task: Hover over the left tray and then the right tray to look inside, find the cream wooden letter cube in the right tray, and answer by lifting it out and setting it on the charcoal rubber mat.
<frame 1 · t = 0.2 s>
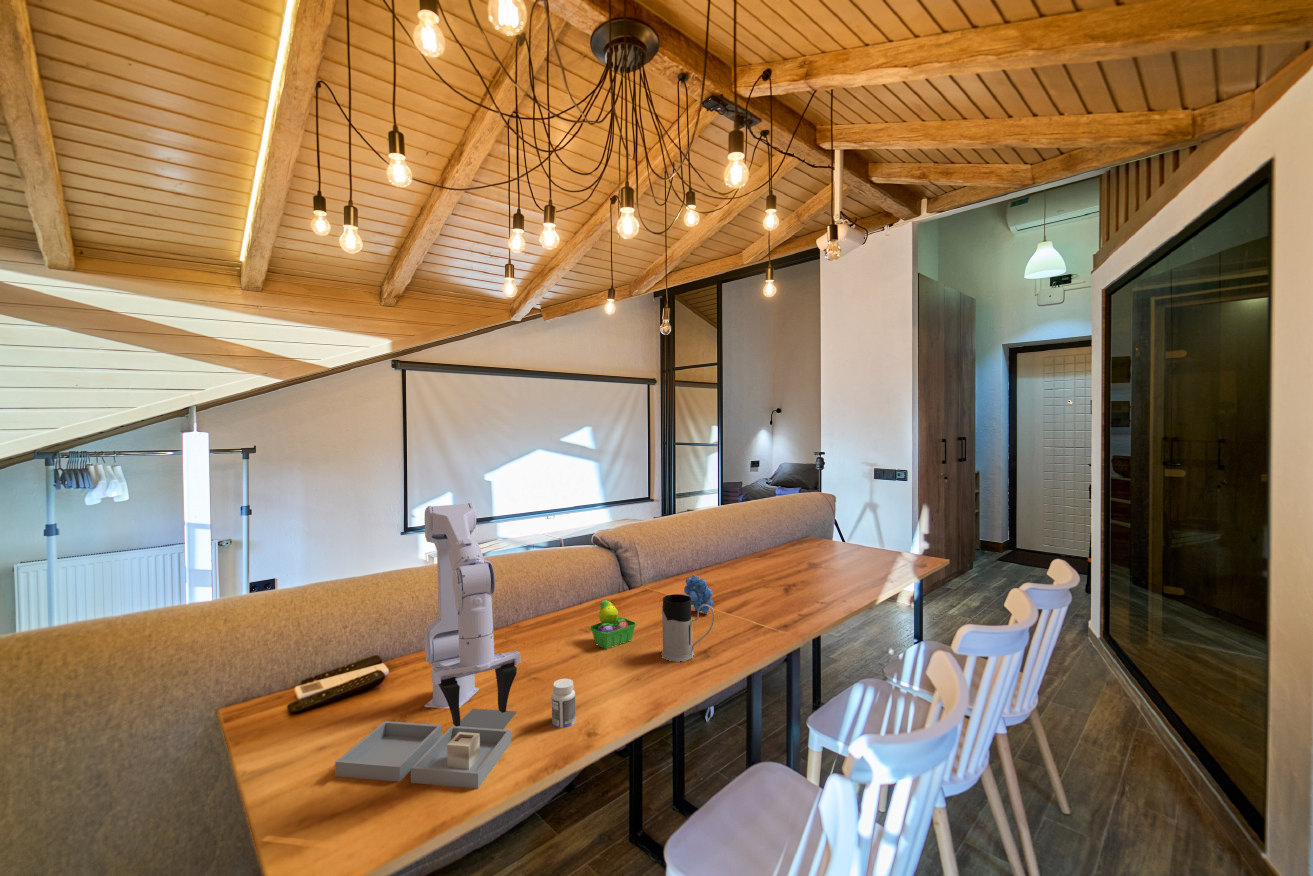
hand: (480, 717, 90), 10 cm above the table, tool pointing down, fingers open, 7 cm apart
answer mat: (483, 725, 107), on the table
grapes: (696, 613, 173), on the table
tray 1: (391, 758, 96), on the table
tray 2: (464, 764, 94), on the table
letter cube: (464, 761, 94), point 1 cm above the table, touching tray 2
pill bottle: (564, 725, 107), on the table
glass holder: (687, 656, 140), on the table
fruit basket: (612, 642, 150), on the table
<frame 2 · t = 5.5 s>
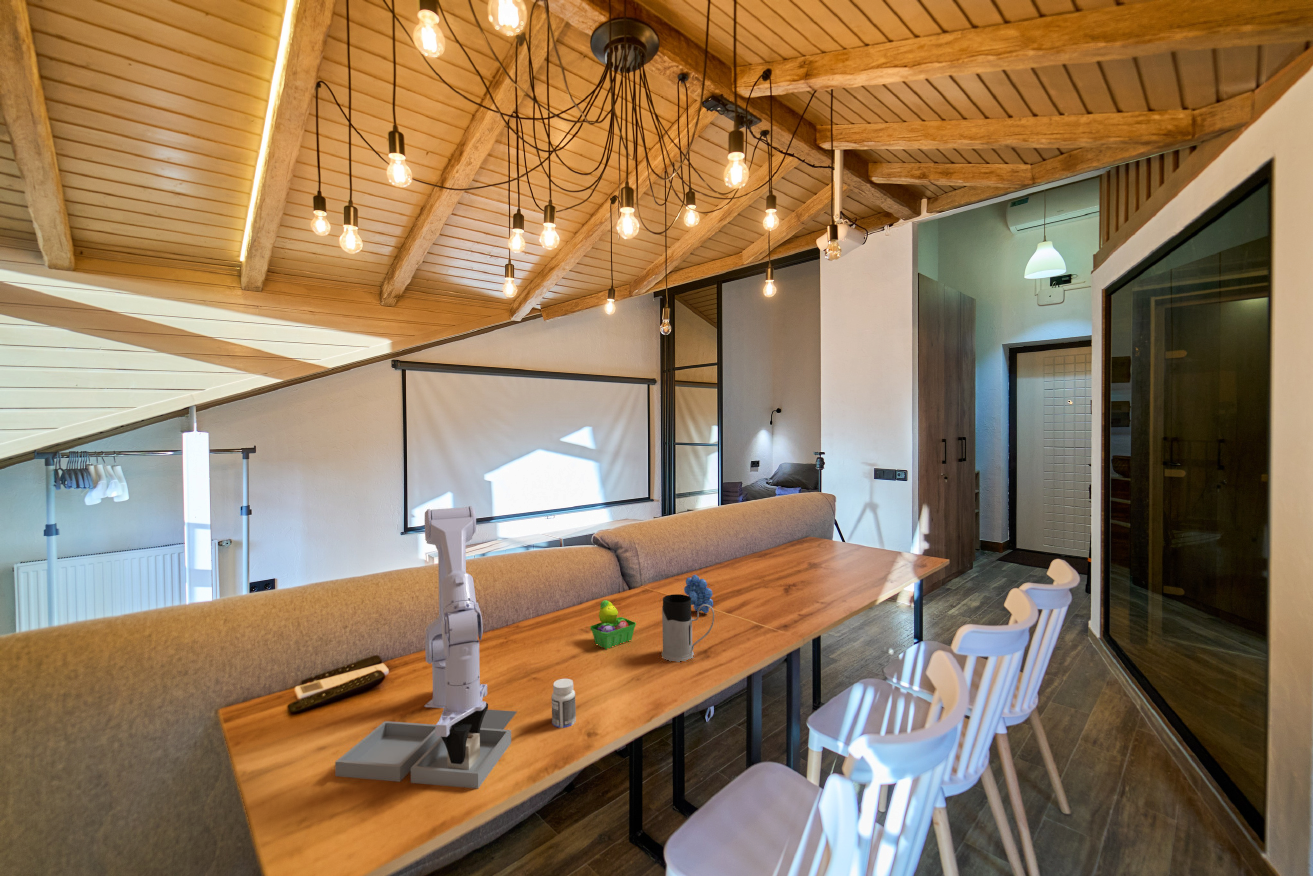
hand: (463, 754, 94), 2 cm above the table, tool pointing down, fingers closed on letter cube, 4 cm apart
letter cube: (464, 761, 94), point 1 cm above the table, touching gripper, tray 2
everything else where it was.
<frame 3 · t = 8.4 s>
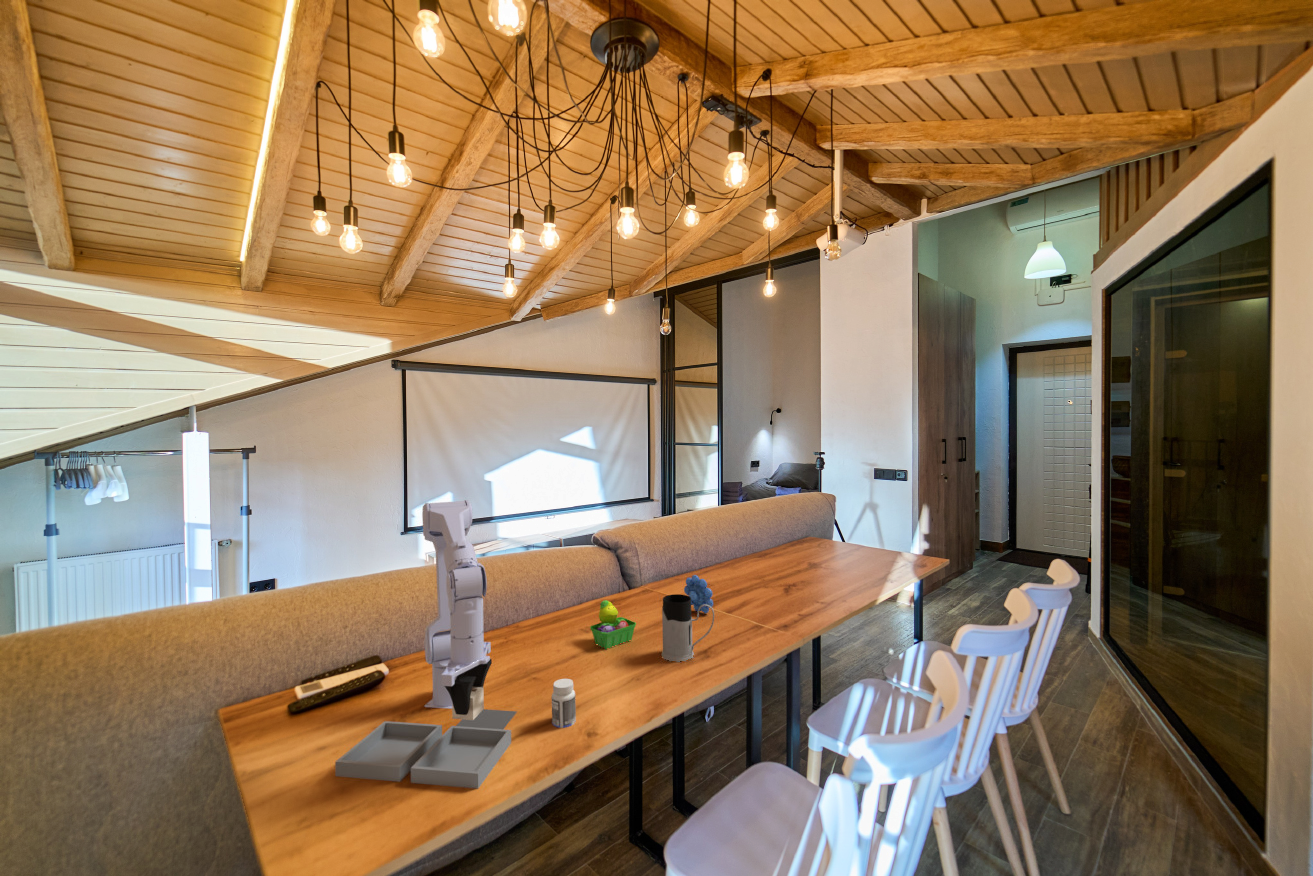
hand: (468, 707, 97), 9 cm above the table, tool pointing down, fingers closed on letter cube, 4 cm apart
letter cube: (468, 713, 97), point 8 cm above the table, touching gripper
everything else where it was.
when the fingers open (3 cm above the table, at t = 11.2 s): letter cube drops 1 cm, resting on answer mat.
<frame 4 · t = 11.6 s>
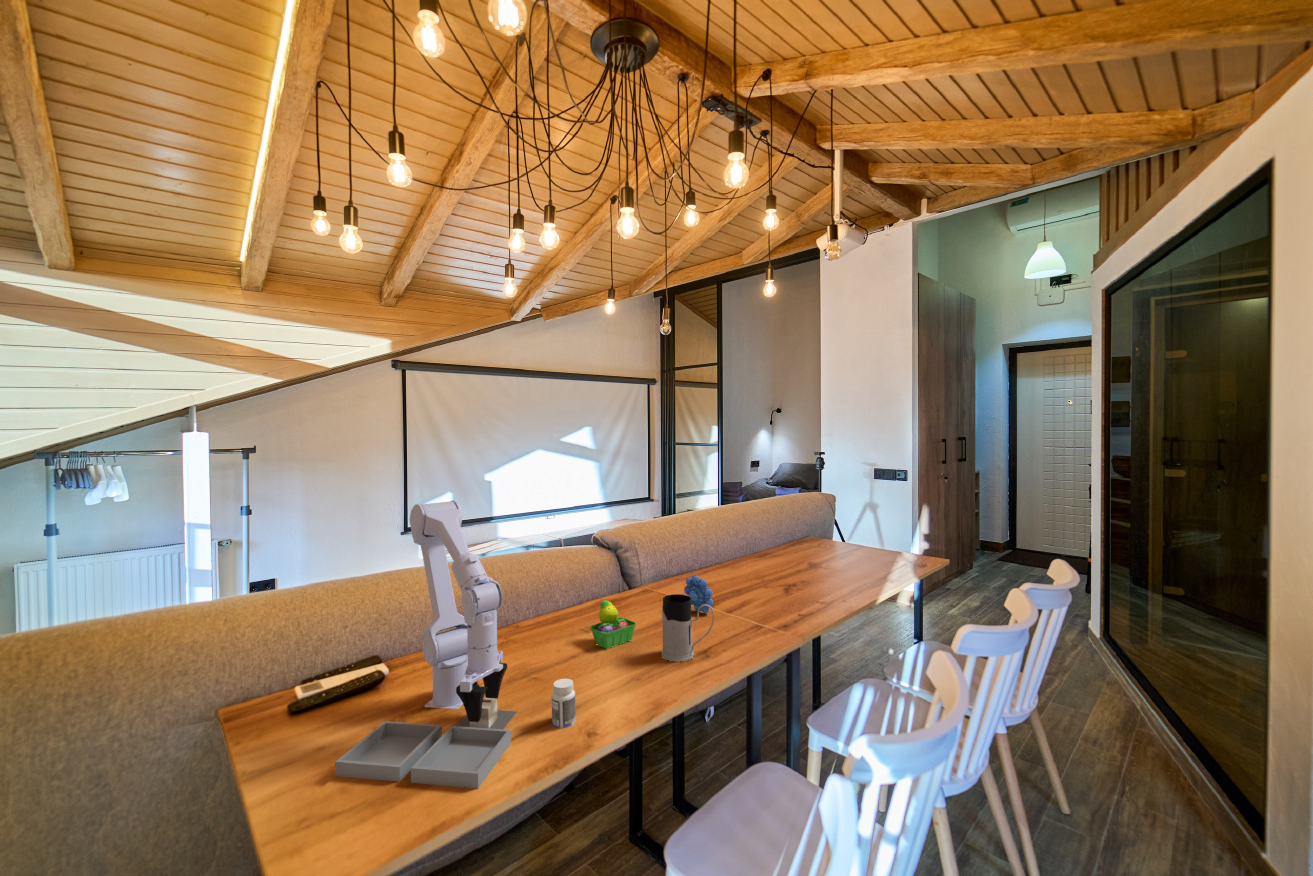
hand: (483, 710, 107), 3 cm above the table, tool pointing down, fingers open, 7 cm apart
letter cube: (483, 722, 107), point 1 cm above the table, touching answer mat
everything else where it was.
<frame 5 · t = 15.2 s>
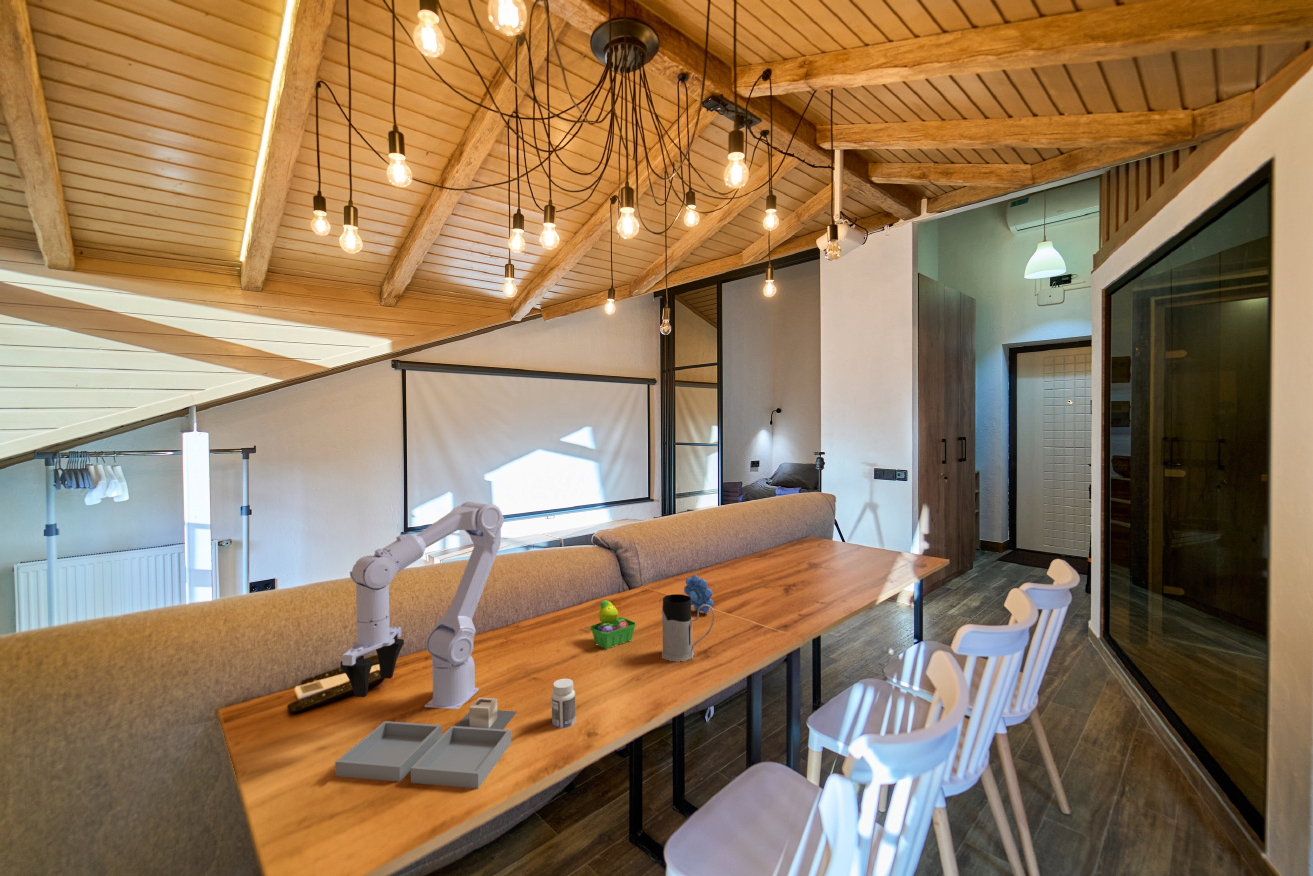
hand: (374, 686, 104), 9 cm above the table, tool pointing down, fingers open, 7 cm apart
nothing on the table moved.
at the end: letter cube 0.0 cm off-centre on the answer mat, point 0.6 cm above the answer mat's base; letter cube tilted 0°; the gripper is holding nothing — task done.
